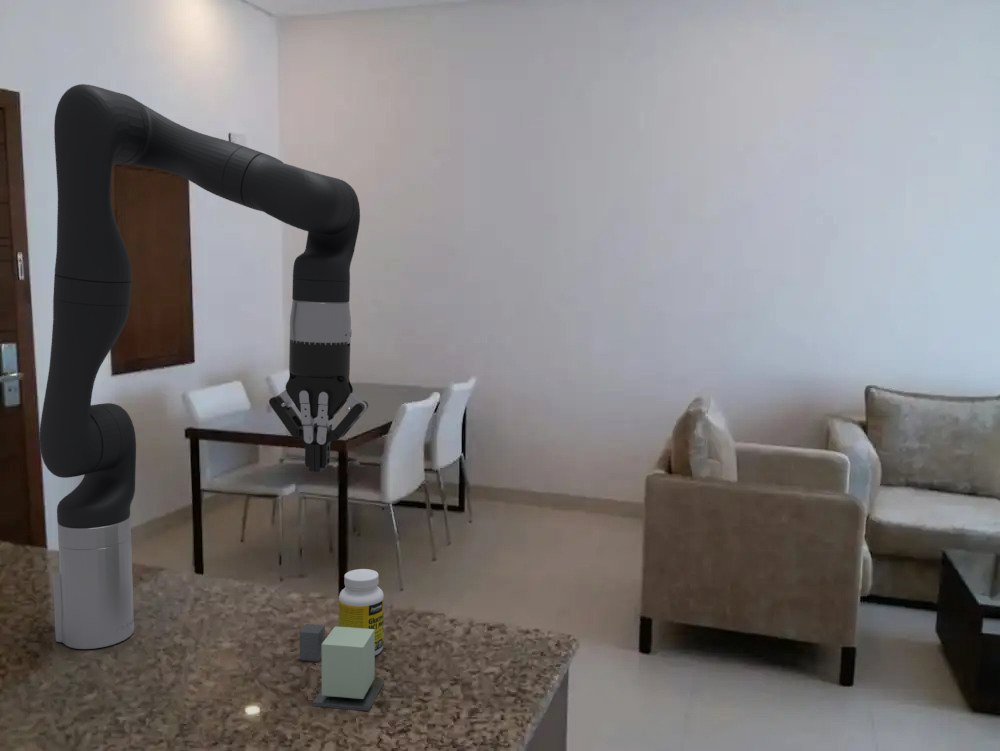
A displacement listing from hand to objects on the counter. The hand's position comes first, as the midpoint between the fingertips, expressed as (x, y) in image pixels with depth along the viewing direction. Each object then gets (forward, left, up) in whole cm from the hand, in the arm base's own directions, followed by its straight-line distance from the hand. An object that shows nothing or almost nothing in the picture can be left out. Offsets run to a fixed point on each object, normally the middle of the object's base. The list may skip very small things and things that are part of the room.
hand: (317, 470), depth 107 cm
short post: (-2, +3, -27) cm, 27 cm away
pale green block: (+6, -6, -26) cm, 27 cm away
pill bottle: (+4, +6, -27) cm, 28 cm away
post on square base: (+6, -6, -27) cm, 28 cm away
